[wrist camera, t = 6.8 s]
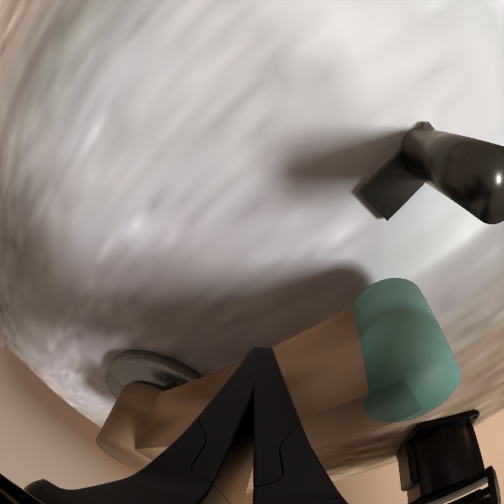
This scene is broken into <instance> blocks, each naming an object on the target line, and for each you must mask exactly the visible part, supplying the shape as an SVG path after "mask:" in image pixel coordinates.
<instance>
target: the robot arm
mask: <svg viewBox="0 0 504 504" xmlns="http://www.w3.org/2000/svg"><path fill="white" fill-rule="evenodd" d="M479 415H480V414H479V411H478V410H476V411H473V412H469V413H466V414H462V415H458V416H455V417H451V418H447V419H443V420H438V421H434V422H429V423H424V424H420V425H418V426H416V427H415V428H414V430H413V432H412V433H411V435H410V436H409V438H408V439H407V441H406V442H405V444H404V445H403V446H402V448H401V449H400V451H399V452H398V453H397V455H396V457H397V459H398V463H399V464H398V465H399V473H400V482H401V490H402V491H407V496H408V504H443V503H446V502H448V501H451V500H453V499H455V498H457V497H460V496H462V495H464V494H466V493H468V492H470V491H472V490H474V489H476V488H478V487H480V486H482V485H484V484H486V483H488V487H486V488H484V489H482V490H481V489H479V490H477V491H475V492H473V493H470V494H469V495H466V496H464V497H462V498H460V499H457V500H455V501H453V502H451V503H448V504H501V497H500V490H499V485H498V481H497V476H496V473H495V470H494V469H493V467H492V466H489V467H488V468H486V469H485V468H484V464H483V460H482V456H481V452H480V448H479V445H478V442H477V438H476V435H475V431H474V428H473V425H472V424H473V423H474V422H475V420H476V419H477V418H478V417H479ZM252 465H253V487H254V489H253V504H348V503H347V502H346V501H345V499H344V498H343V497H342V496H341V494H340V493H339V492H338V490H337V489H336V487H335V486H334V484H333V482H332V481H331V479H330V478H329V476H328V474H327V473H326V471H325V470H324V468H323V466H322V465H321V463H320V462H319V460H318V458H317V456H316V454H315V453H314V451H313V449H312V447H311V445H310V443H309V441H308V438H307V436H306V434H305V431H304V429H303V426H302V425H301V421H300V419H299V416H298V414H297V411H296V408H295V406H294V403H293V401H292V398H291V395H290V393H289V390H288V388H287V385H286V382H285V380H284V377H283V375H282V372H281V369H280V367H279V364H278V361H277V359H276V356H275V353H274V351H273V349H272V348H271V347H254V348H252V350H251V351H250V352H249V353H248V355H247V356H246V357H245V359H244V360H243V361H242V362H241V364H240V365H239V366H238V368H237V369H236V370H235V371H234V373H233V374H232V375H231V376H230V378H229V379H228V380H227V381H226V383H225V384H224V385H223V386H222V388H221V389H220V390H219V391H218V392H217V394H216V395H215V396H214V397H213V399H212V400H211V401H210V402H209V403H208V405H207V406H206V407H205V408H204V409H203V411H202V412H201V413H200V414H199V415H198V417H197V419H195V420H194V421H193V422H192V423H191V425H190V426H189V427H188V428H187V429H186V430H185V431H184V432H183V433H182V434H181V436H180V437H179V438H178V439H176V440H175V441H174V442H173V443H172V444H171V445H170V446H169V447H168V448H167V449H165V450H164V451H163V452H162V453H161V454H160V455H158V456H157V457H156V458H155V459H154V460H152V461H151V462H150V463H149V464H148V465H146V466H145V467H144V468H143V469H141V470H140V471H139V472H137V473H135V474H134V475H132V476H130V477H128V478H125V479H121V480H117V481H113V482H109V483H105V484H101V485H96V486H92V487H87V488H82V489H75V490H67V489H62V488H59V487H57V486H55V485H54V484H52V483H50V482H49V481H47V480H45V479H41V480H38V481H35V482H32V483H30V484H29V485H27V486H26V487H25V488H24V489H25V490H26V491H27V492H28V493H27V492H26V491H25V490H23V489H22V488H20V487H19V486H17V485H16V484H14V483H13V482H12V481H10V480H9V479H7V478H6V477H5V476H3V475H2V474H0V504H243V501H244V497H245V494H246V490H247V486H248V482H249V478H250V474H251V469H252ZM30 494H31V495H30Z"/></svg>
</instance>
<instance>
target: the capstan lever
mask: <svg viewBox="0 0 504 504" xmlns="http://www.w3.org/2000/svg"><path fill="white" fill-rule="evenodd" d="M271 348H272V349H273V351H274V353H275V356H276V359H277V361H278V364H279V367H280V369H281V372H282V375H283V377H284V380H285V382H286V385H287V388H288V390H289V393H290V395H291V398H292V401H293V403H294V406H295V408H296V411H297V414H298V416H299V419H300V421H301V425H302V426H303V429H304V431H305V434H306V436H307V438H308V441H309V443H310V445H311V447H312V449H317V448H321V447H324V446H328V445H331V444H335V443H338V442H341V441H345V440H348V439H351V438H354V437H357V436H360V435H363V434H365V433H368V432H371V431H374V430H376V429H379V428H381V427H384V426H387V425H389V424H391V423H394V422H400V421H406V420H410V419H413V418H416V417H419V416H421V415H423V414H426V413H428V412H430V411H431V410H433V409H435V408H436V407H438V406H439V405H441V404H442V403H443V402H444V401H445V400H447V399H448V398H449V397H450V395H451V394H452V393H453V392H454V391H455V389H456V387H457V386H458V384H459V381H460V377H461V372H460V369H459V366H458V364H457V362H456V360H455V357H454V355H453V353H452V351H451V349H450V347H449V344H448V342H447V340H446V338H445V336H444V334H443V332H442V330H441V328H440V326H439V324H438V322H437V320H436V318H435V316H434V314H433V313H432V311H431V309H430V307H429V305H428V303H427V301H426V300H425V298H424V296H423V294H422V292H421V291H420V289H419V288H418V286H417V285H415V284H414V283H413V282H411V281H409V280H406V279H402V278H389V279H385V280H381V281H379V282H376V283H374V284H372V285H371V286H369V287H368V288H366V289H365V290H364V291H363V292H362V293H361V294H360V295H359V296H358V297H357V298H356V300H355V301H354V303H353V305H352V306H351V307H349V308H347V309H345V310H344V311H342V312H340V313H338V314H336V315H334V316H333V317H331V318H329V319H327V320H325V321H323V322H321V323H319V324H317V325H316V326H314V327H312V328H310V329H308V330H306V331H304V332H302V333H300V334H298V335H296V336H294V337H292V338H290V339H288V340H286V341H283V342H281V343H279V344H277V345H275V346H273V347H271ZM242 361H243V360H242ZM242 361H240V362H237V363H235V364H233V365H231V366H228V367H226V368H223V369H221V370H219V371H216V372H214V373H211V374H209V375H206V376H204V377H201V378H199V379H196V380H194V381H191V382H188V383H186V384H183V385H180V386H178V387H175V388H172V389H169V390H167V391H164V390H161V389H159V388H157V387H154V386H151V385H147V384H143V383H130V384H127V385H125V386H124V388H123V390H122V392H121V393H120V395H119V397H118V399H117V401H116V403H115V404H114V406H113V408H112V410H111V412H110V414H109V416H108V418H107V419H106V421H105V423H104V425H103V427H102V429H101V431H100V433H99V435H98V437H97V439H96V443H97V444H98V446H99V447H100V448H101V449H102V450H104V452H106V453H107V454H108V455H110V456H111V457H113V458H114V459H116V460H118V461H119V462H121V463H123V464H125V465H127V466H129V467H131V468H133V469H136V470H138V471H140V470H141V469H143V468H144V467H145V466H146V465H148V464H149V463H150V462H151V461H152V460H154V459H155V458H156V457H157V456H158V455H160V454H161V453H162V452H163V451H164V450H165V449H167V448H168V447H169V446H170V445H171V444H172V443H173V442H174V441H175V440H176V439H178V438H179V437H180V436H181V434H182V433H183V432H184V431H185V430H186V429H187V428H188V427H189V426H190V425H191V423H192V422H193V421H194V420H195V419H197V417H198V415H199V414H200V413H201V412H202V411H203V409H204V408H205V407H206V406H207V405H208V403H209V402H210V401H211V400H212V399H213V397H214V396H215V395H216V394H217V392H218V391H219V390H220V389H221V388H222V386H223V385H224V384H225V383H226V381H227V380H228V379H229V378H230V376H231V375H232V374H233V373H234V371H235V370H236V369H237V368H238V366H239V365H240V364H241V362H242Z"/></svg>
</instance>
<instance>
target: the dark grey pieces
mask: <svg viewBox="0 0 504 504" xmlns="http://www.w3.org/2000/svg"><path fill="white" fill-rule="evenodd" d="M424 183H427V184H428V185H430V186H432V187H433V188H435V189H436V190H438V191H439V192H441V193H442V194H444V195H445V196H447V197H448V198H450V199H451V200H453V201H454V202H456V203H457V204H459V205H460V206H461V207H463V208H464V209H466V210H467V211H468V212H470V213H471V214H473V215H474V216H475V217H477V218H478V219H479V220H481V221H482V222H484V223H487V224H497V223H500V222H502V221H504V147H503V146H500V145H496V144H493V143H489V142H486V141H482V140H478V139H474V138H470V137H465V136H461V135H456V134H452V133H447V132H442V131H437V130H435V129H434V128H433V127H432V126H431V124H430V123H429V122H424V123H423V125H422V126H421V127H420V128H416V129H413V130H411V131H410V132H408V133H407V134H406V136H405V137H404V139H403V141H402V143H401V147H400V149H399V150H398V151H397V152H396V153H395V154H394V155H393V156H392V158H391V159H390V160H389V161H388V162H387V163H386V164H385V165H384V166H383V167H382V168H381V169H380V170H379V171H378V172H377V173H376V174H375V175H374V176H373V177H372V178H371V179H370V180H369V181H368V182H367V183H366V184H365V185H364V186H363V187H362V189H361V190H360V193H361V194H362V195H363V196H364V197H365V198H366V199H367V200H368V201H369V202H370V203H371V204H372V205H373V206H374V207H375V208H376V209H377V210H378V211H379V212H380V213H381V214H382V216H383V217H384V218H385V219H386V220H387V221H388V220H389V219H390V218H391V217H392V216H393V215H394V214H395V213H396V212H397V211H398V210H399V209H400V208H401V207H402V206H403V205H404V204H405V203H406V202H407V201H408V200H409V199H410V198H411V197H412V196H413V194H414V193H415V192H416V191H417V190H418V189H419V188H420V187H421V186H422V185H423V184H424ZM201 377H202V376H200V375H199V374H198V373H197V372H195V371H194V370H192V369H191V368H189V367H187V366H186V365H184V364H182V363H180V362H178V361H176V360H174V359H172V358H169V357H167V356H164V355H161V354H158V353H154V352H149V351H143V350H130V351H125V352H122V353H121V354H119V355H118V356H117V357H116V358H115V359H114V361H113V363H112V364H111V366H110V367H109V369H108V371H107V373H106V382H107V385H108V387H109V389H110V391H111V393H112V394H113V395H114V397H115V398H116V399H118V397H119V395H120V393H121V392H122V390H123V388H124V386H125V385H127V384H130V383H143V384H147V385H151V386H154V387H157V388H159V389H161V390H164V391H167V390H169V389H172V388H175V387H178V386H180V385H183V384H186V383H188V382H191V381H194V380H196V379H199V378H201Z"/></svg>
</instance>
